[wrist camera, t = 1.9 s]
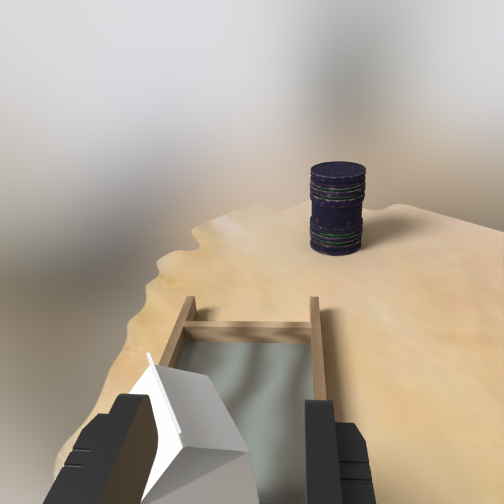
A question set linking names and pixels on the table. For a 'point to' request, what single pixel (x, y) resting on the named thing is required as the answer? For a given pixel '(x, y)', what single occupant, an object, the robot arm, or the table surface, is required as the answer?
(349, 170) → the dark blue barrel
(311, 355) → the tray
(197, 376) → the milk carton
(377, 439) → the table surface
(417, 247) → the table surface
